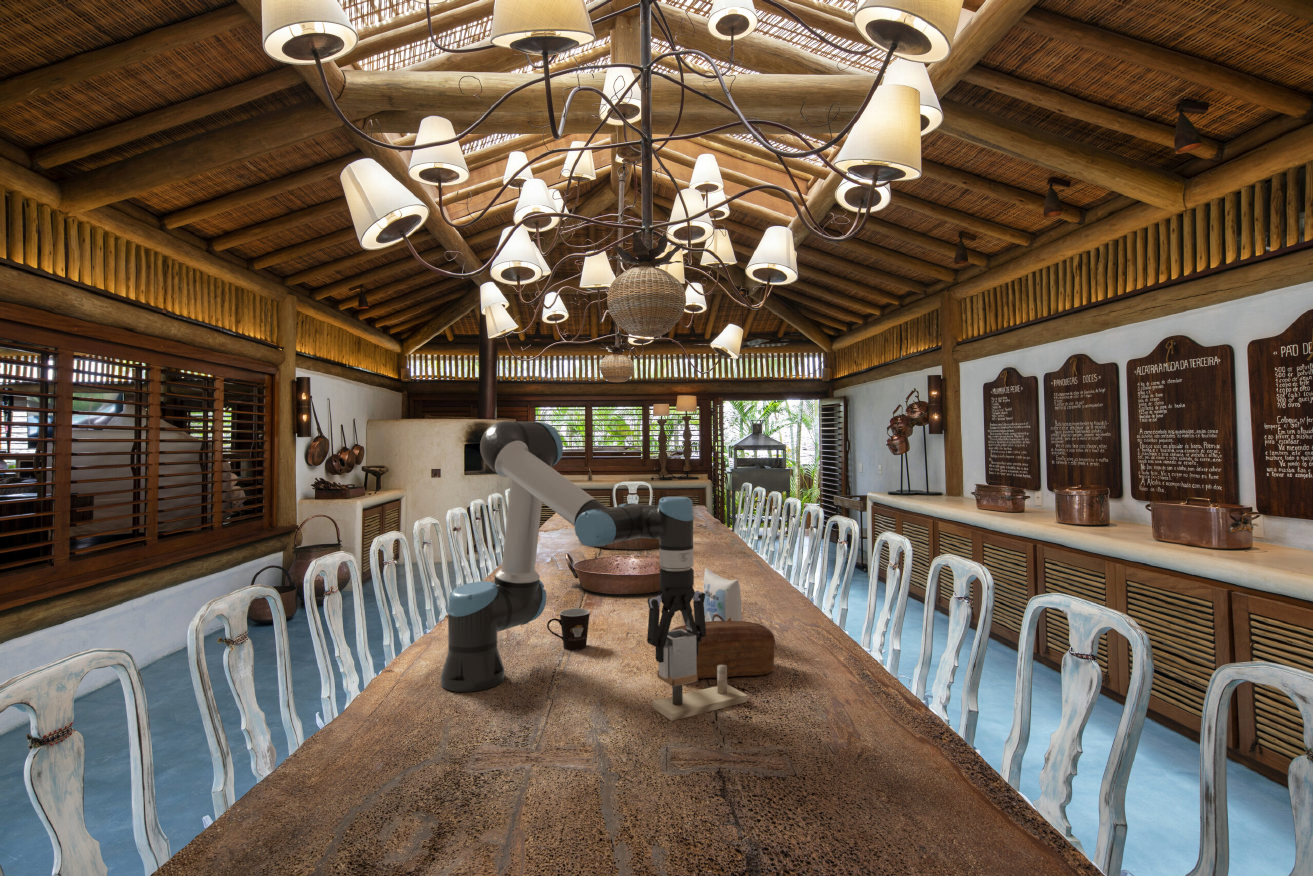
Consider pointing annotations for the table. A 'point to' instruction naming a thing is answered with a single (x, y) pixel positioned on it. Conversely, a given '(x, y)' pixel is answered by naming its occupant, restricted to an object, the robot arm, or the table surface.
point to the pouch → (721, 598)
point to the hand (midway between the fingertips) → (677, 673)
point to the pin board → (700, 699)
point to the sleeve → (681, 658)
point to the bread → (735, 649)
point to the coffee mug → (573, 628)
